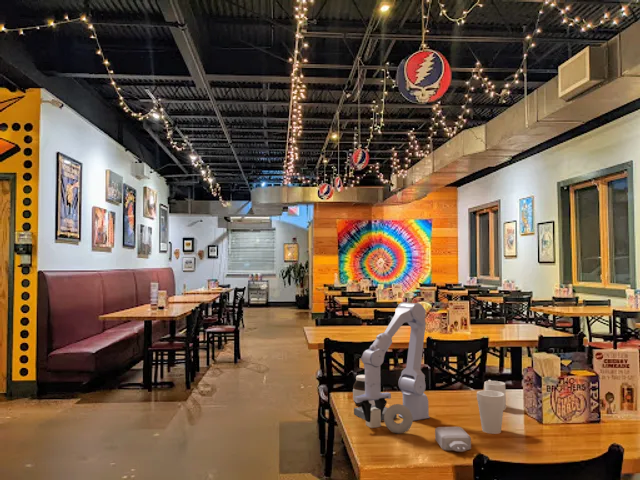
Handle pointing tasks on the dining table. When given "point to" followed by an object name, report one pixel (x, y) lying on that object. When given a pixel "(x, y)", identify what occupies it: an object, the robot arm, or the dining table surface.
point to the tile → (360, 414)
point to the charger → (452, 438)
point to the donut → (393, 425)
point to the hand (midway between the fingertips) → (373, 420)
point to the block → (374, 418)
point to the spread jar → (360, 388)
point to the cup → (496, 388)
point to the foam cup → (491, 410)
